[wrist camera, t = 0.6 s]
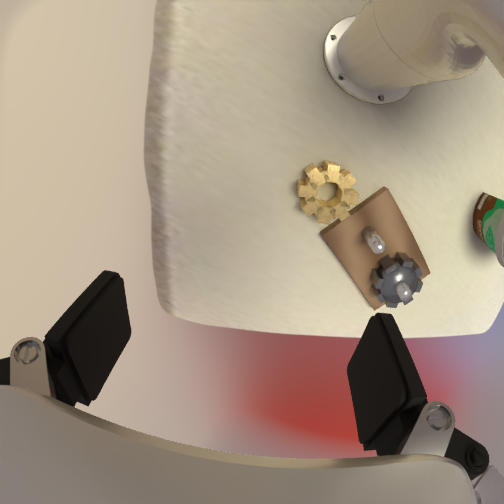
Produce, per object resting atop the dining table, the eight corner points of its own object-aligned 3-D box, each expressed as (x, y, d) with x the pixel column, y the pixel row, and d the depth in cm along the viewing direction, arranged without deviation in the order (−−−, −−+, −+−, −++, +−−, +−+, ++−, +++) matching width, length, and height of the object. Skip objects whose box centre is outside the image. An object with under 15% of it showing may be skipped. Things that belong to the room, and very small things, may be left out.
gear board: (384, 186, 34) (388, 189, 33) (426, 268, 39) (430, 273, 38) (320, 231, 38) (321, 235, 37) (372, 305, 43) (374, 310, 41)
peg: (370, 223, 35) (383, 239, 31) (376, 233, 36) (389, 250, 31) (359, 231, 36) (371, 248, 31) (366, 241, 36) (377, 259, 32)
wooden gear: (331, 149, 33) (336, 152, 30) (362, 195, 35) (369, 201, 32) (285, 183, 36) (286, 189, 33) (318, 226, 38) (322, 235, 35)
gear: (404, 242, 36) (419, 260, 31) (421, 278, 38) (436, 297, 33) (361, 271, 39) (371, 292, 34) (382, 304, 41) (392, 326, 36)
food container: (457, 209, 34) (494, 235, 25) (479, 185, 32) (519, 205, 23) (481, 259, 37) (511, 289, 28) (501, 237, 35) (534, 263, 26)
